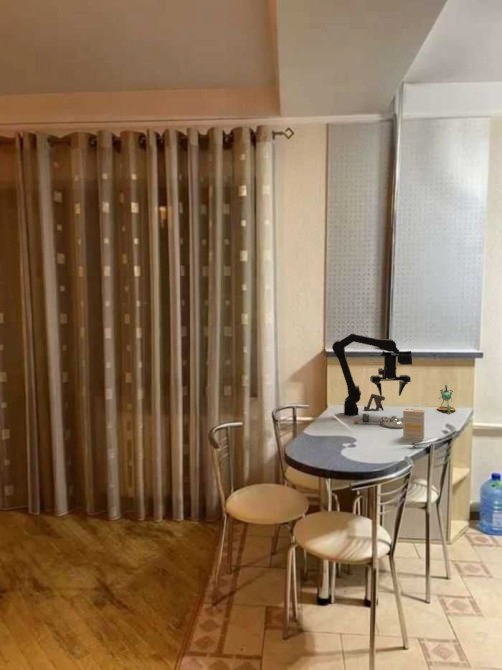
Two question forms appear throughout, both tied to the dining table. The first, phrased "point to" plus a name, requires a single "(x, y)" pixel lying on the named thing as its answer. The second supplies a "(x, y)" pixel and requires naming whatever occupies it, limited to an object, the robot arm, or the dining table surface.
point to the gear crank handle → (386, 421)
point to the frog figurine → (446, 397)
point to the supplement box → (413, 424)
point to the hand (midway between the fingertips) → (390, 396)
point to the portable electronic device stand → (377, 402)
